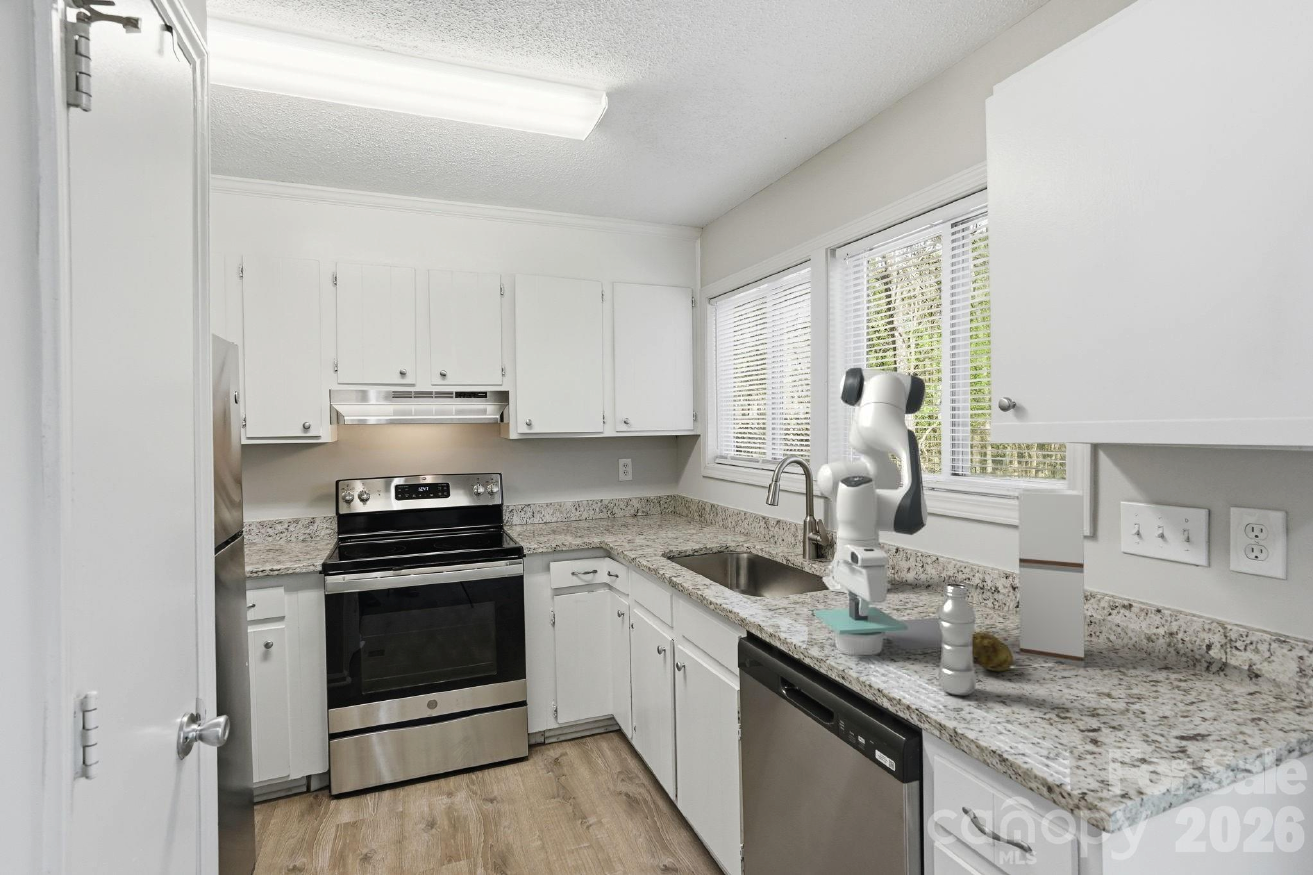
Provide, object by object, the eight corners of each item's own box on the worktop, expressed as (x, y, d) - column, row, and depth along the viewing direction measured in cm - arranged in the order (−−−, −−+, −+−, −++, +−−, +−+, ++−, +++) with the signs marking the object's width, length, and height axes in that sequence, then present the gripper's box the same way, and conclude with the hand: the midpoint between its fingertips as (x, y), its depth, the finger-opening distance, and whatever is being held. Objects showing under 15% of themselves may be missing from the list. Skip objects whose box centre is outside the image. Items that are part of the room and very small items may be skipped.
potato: (1031, 670, 132) (1031, 631, 132) (988, 683, 126) (988, 641, 126) (994, 658, 139) (994, 620, 139) (952, 669, 134) (951, 630, 134)
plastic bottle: (976, 688, 124) (974, 582, 124) (977, 702, 118) (976, 591, 117) (938, 683, 127) (937, 580, 126) (938, 696, 120) (936, 588, 120)
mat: (864, 624, 164) (864, 622, 164) (939, 620, 166) (939, 617, 166) (903, 651, 144) (903, 649, 144) (988, 646, 147) (988, 643, 147)
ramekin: (848, 639, 154) (847, 616, 154) (894, 649, 146) (894, 626, 146) (823, 651, 146) (822, 627, 146) (870, 663, 138) (870, 638, 138)
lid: (813, 613, 152) (813, 593, 152) (875, 610, 154) (875, 590, 154) (839, 634, 138) (839, 611, 137) (907, 629, 139) (907, 607, 139)
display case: (1084, 651, 142) (1083, 490, 141) (1084, 667, 133) (1082, 495, 133) (1024, 642, 148) (1022, 488, 148) (1019, 657, 140) (1018, 492, 139)
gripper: (825, 542, 156) (826, 600, 156) (863, 560, 135) (864, 626, 136) (851, 541, 156) (852, 599, 157) (892, 558, 136) (893, 625, 136)
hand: (858, 612), depth 146 cm, fingers closed on lid, 3 cm apart
